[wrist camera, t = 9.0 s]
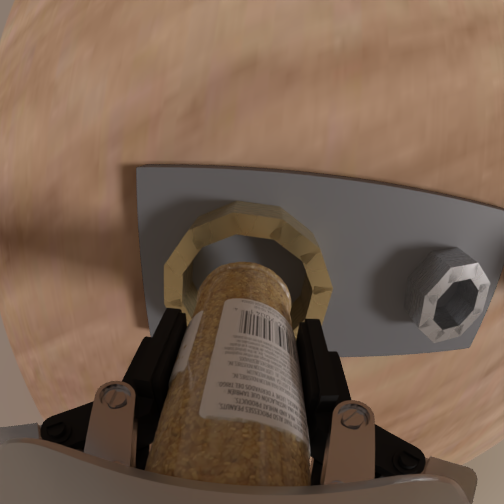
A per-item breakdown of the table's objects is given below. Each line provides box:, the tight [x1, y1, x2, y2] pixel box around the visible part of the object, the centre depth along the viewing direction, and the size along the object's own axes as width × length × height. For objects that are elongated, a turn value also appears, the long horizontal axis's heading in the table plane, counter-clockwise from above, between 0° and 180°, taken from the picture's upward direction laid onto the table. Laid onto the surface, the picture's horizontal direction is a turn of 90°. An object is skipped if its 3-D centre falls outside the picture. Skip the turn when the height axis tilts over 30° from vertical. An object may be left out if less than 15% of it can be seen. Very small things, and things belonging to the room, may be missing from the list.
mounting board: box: [136, 164, 504, 357], centre depth 18 cm, size 26×12×2 cm, turn 86°
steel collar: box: [404, 247, 490, 343], centre depth 16 cm, size 6×6×2 cm
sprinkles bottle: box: [144, 262, 311, 486], centre depth 8 cm, size 5×5×14 cm
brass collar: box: [164, 201, 333, 339], centre depth 16 cm, size 8×8×2 cm
